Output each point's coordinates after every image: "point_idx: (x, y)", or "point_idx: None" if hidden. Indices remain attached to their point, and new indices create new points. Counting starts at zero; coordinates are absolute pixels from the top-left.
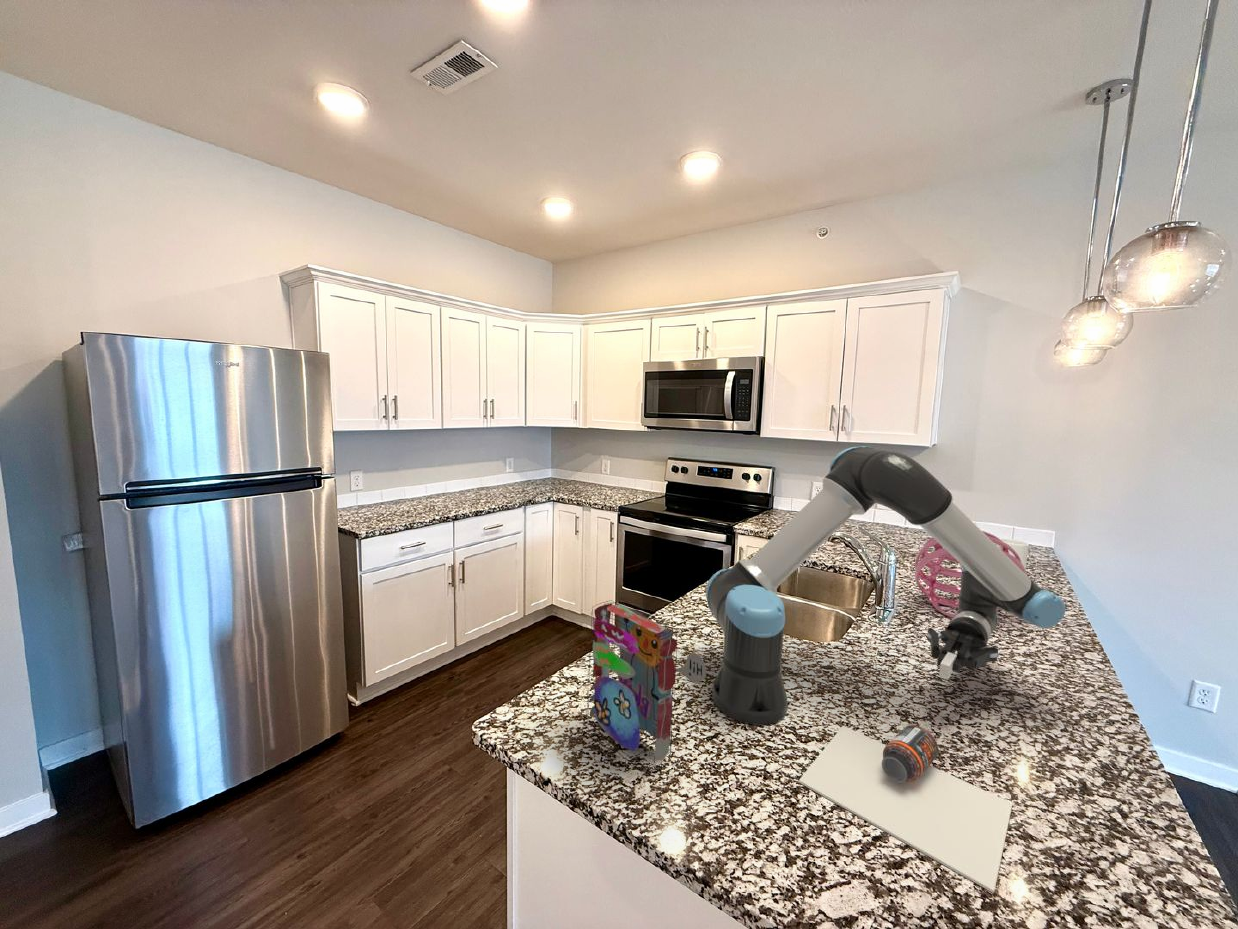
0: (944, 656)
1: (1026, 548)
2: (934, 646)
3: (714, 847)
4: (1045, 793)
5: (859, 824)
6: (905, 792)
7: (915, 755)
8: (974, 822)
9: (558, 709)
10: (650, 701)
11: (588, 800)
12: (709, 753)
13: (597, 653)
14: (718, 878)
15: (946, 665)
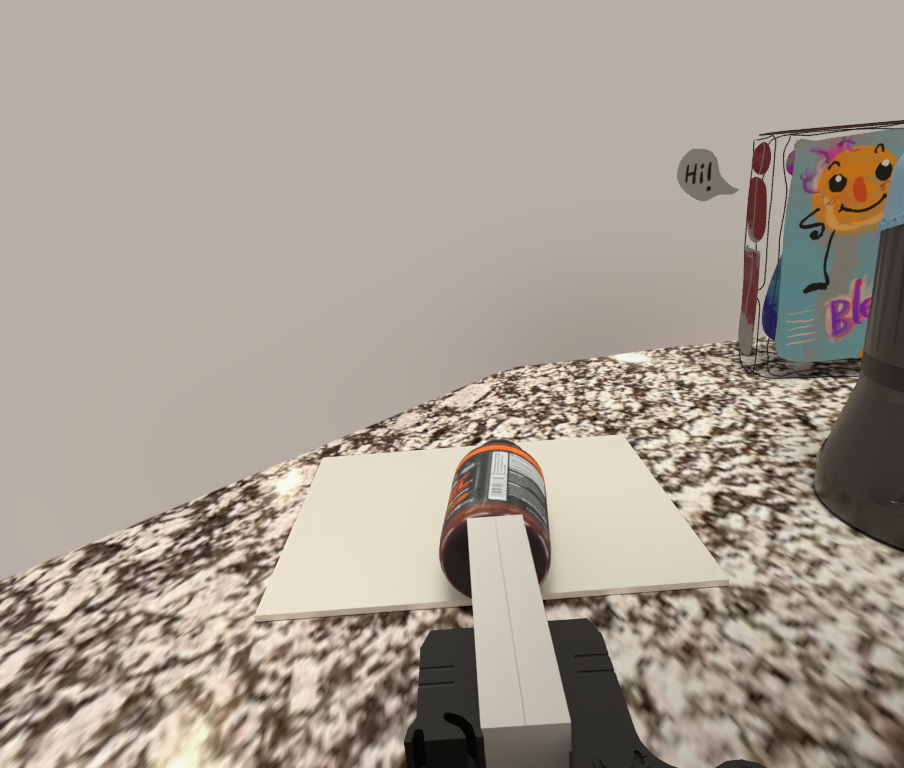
0: (572, 685)
1: None
2: (749, 761)
3: (599, 368)
4: (123, 746)
5: None
6: None
7: (467, 455)
8: (345, 522)
9: None
10: (827, 300)
11: (726, 341)
12: (757, 406)
13: None
14: (569, 362)
15: (485, 518)
